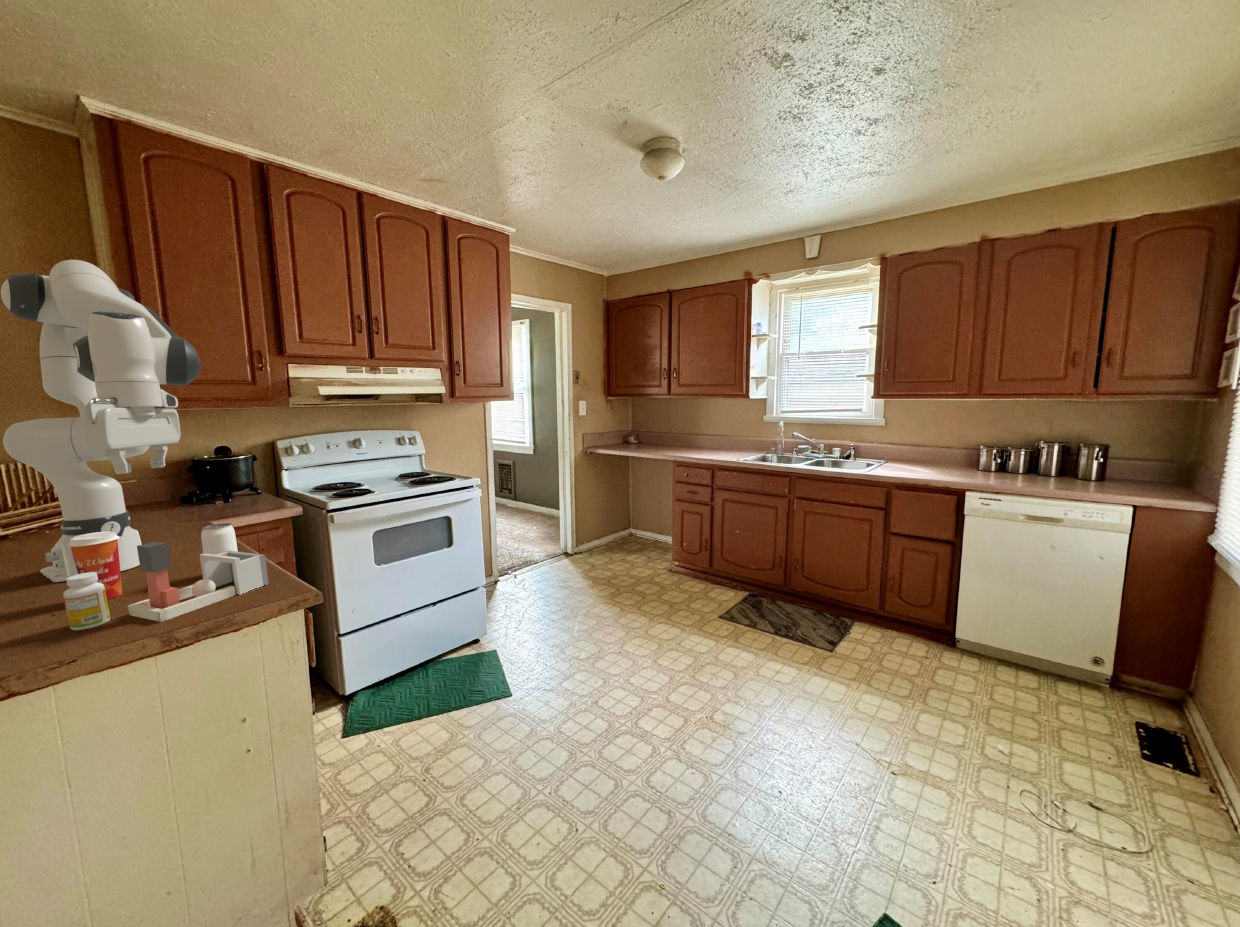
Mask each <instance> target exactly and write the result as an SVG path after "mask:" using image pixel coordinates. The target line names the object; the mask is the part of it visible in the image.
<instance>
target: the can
mask: <svg viewBox="0 0 1240 927" xmlns="http://www.w3.org/2000/svg"><path fill="white" fill-rule="evenodd" d="M232 525H233V524H232V522H220V523H214V524H209V525H206V526H203V527H201V528H202V531H201V533H200V538H201V540H200V541H201V545H202V546H201V547H202V554H204V553H206V554H214V555H216V554H220V553H223V552H227V551H237V552H239V551H238V545H237V536H236V532H235V528H234V526H232Z"/></svg>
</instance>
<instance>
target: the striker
mask: <svg viewBox="0 0 1240 927" xmlns="http://www.w3.org/2000/svg"><path fill="white" fill-rule="evenodd" d="M137 551H138V557H139V563H140V565H139V566H140V567H139V568H140V571H142V572H145V574H146V582H147V586H148V587H147V594H148V599H149V601H150V607H154V608H159V609H164V608H167V607H170V606H173V605H176V604H179V603H181V600H180V599H179V593H178V589H179V588H178V587H174V586H171V584H170V580H169V572H168V569H171V568H172V563H171V562H172V561H171V556H170V549H169V544H168V542H161V541H153V542H148V543H144V544H142V545H139V546H137Z"/></svg>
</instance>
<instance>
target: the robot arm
mask: <svg viewBox="0 0 1240 927" xmlns="http://www.w3.org/2000/svg"><path fill="white" fill-rule="evenodd" d="M0 295H1V301H2V302H3V304H4V306H5V307H6V308H7V310H8V312H9V313H10V314H11V315H12V316H14V317H16V318H18V319H21V320H23V321H28V322H33V323H35V322H40V323H42V326H41V330H40V337H39V360H40V361H39V362H40V371H41V380H42V381H41V382H42V388H43V391H45V393H46V394H47V395H48V396H49V397H51V398H53V399H55V400H57V401H60V402H63V403H65V404H68V405H72V406H75V407H76V408H77V410H78V412H79V416H77V417H57V418H56V417H53V418H47V417H46V418H38V419H31V420H25V421H22V422H21V421H20V422H16V423H13V424H11V425H10V426H9V427H8V428H7V429H6V430H5V432H4V434H3V438H2V443H3V444H2V445H3V447H4V450H5V451H6V453H7V454H8V455H9V457H11V458H12V459H13V460H16V461H17V462H20V463H21V464H25V465H26V466H29V467H30V468H33V469H34V470H37V471H38V472H39V473H41V475H43V476H44V477H45V478H46V479H47V480H48V482H50V484H51V485H52V488H54V490H55V493H56V494H57V498H58V501H59V502H58V503H59V505H60V510H61V514H62V518H63V519H62V520H61V521H60V522H61V525H60V534H62V535H61V536H60V538H59V539H58V541H57V542H56V543H55V545H53V547H52V548H51V550H50V552H46V553H45V556H44V557H45V560H46V562H47V563H52V565H49V566H46V567H44V568H41V569H40V570H39V571H40V574H41V573H42V574H43V575H42V574H41V575H42V576H44V577H45V576H46V577H45V578H47V579H48V578H49V580H50V581H51V582H53V583H59V582H67V581H66V579H67V578H68V577H71V576H74V575H78V572H77V569H76V565H75V562H74V558H73V554H72V551H71V547H70V546H68V544H69V543H70V539H72V538H74V537H75V536H79V535H84V534H89V533H95V532H104V531H113V532H115V534H117V536H119V537H120V538H119V539H117V540H118V551H119V561H120V572H123V571H126V570H130V569H133V568H136V567H138V566H140V563H139V557H138V551H137V546H139V545H143V544H142V540H141V536H140V534H139V531H138V530H137V529H135V528H132V527H131V526H130V525H131V524H132V522H131V516H130V514H129V511H127V510H126V509H127V508H126V504H125V499H124V497H125V496H124V491H123V487H122V485H121V483H120V482H119V480H117V479H115V478H114V477H111V476H108V475H105V474H100V473H97V472H95V471H93V470H92V469H91V468H90V467H89V466H88V464H87V462H97V461H109V462H110V463H111V465H113V472H114V473H115V474H116V475H125V474H130V473H132V471H133V470H132V464H131V462H130V463H128V461H127V460H126V459H127V458H132V457H137V456H140V455H144V454H145V453H146V452H147V451H148V450H149V449H150V450H151V451H152V458H151V459H149V464H150V468H151V469H161V468H165V467H166V456H167V453H168V450H169V449H168V445H171V444H178V443H179V442H180V438H181V424H180V417H179V414H178V411H177V409H176V408H178V407H179V400H178V398H177V397H176V396H175V395H172V394H170V393H169V392H167V391H165V390H164V389H162V388H161V386H160V385H167V386H178V387H179V386H180V387H181V386H182V387H185V386H187V385H189V384H191V383H192V382H193V381H194V380H196V379H197V378H198V377H199V376H200V373H201V361H200V357H199V354H198V352H197V349H196V348H195V347H194V346H193V345H192V344H191V343H190V342H188V341H187V340H186V339H185V338H182V337H180V336H179V335H178V334H177V333H176V332H175V331H174V330H173V329H172V328H171V327H170V326H169V325H168V324H167V322H165V321H164V320H163V319H162V318H161V317H160V316H159V315H158V314H157V313H156V312H155V311H154V310H153V309H151V308H150V307H148V306H146V305H144V304H143V303H139V302H138V301H136V299H135V296H134V295H132V293H131V292H130V291H128V290H125V289H122V288H120V287H118V286H117V285H116V284H115V282H114V281H113V280H112V278H111V277H109V276H108V274H106V273H105V271H103V269H101V268H100V267H98V266H96V265H95V264H93V263H90V262H88V261H84V260H80V259H66V260H62V261H59V262H58V263H56V264H55V265H54V266H53V267H52V268H51V270H50V271H49V275H43V274H42V275H41V274H38V273H37V274H36V273H35V272H26V273H25V272H24V273H22V272H20V273H13V274H11V275H9V276H7V277H6V278H5V281H4V282H3V283H2V285H1V289H0Z"/></svg>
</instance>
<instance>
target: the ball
mask: <svg viewBox="0 0 1240 927" xmlns="http://www.w3.org/2000/svg"><path fill="white" fill-rule="evenodd" d="M192 585H193V587H192V594H193V595H194V598H196V597H199V596H202V595H205V594H208V593H211V592H214V591H217V590H216V588H217V587H216V585H215V583H214V582H213V581H211V580H208V579H203V578H202V579H200V580H197V581H196V582H195V583H193V584H192Z"/></svg>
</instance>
